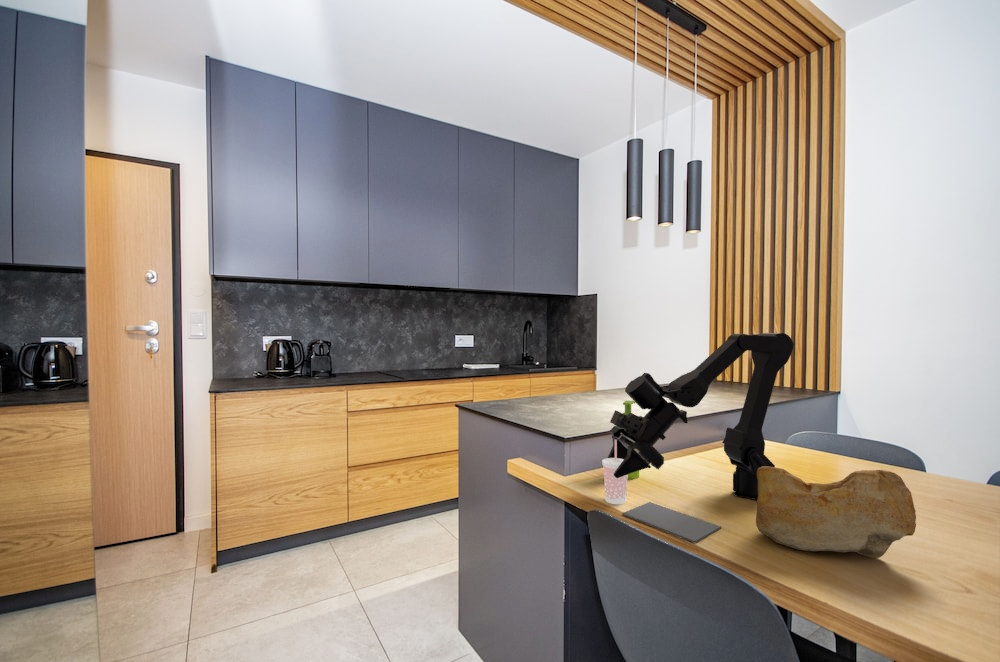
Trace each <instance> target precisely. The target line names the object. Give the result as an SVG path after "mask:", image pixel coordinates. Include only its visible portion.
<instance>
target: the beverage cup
mask: <svg viewBox="0 0 1000 662" xmlns="http://www.w3.org/2000/svg"><path fill="white" fill-rule="evenodd" d="M623 460H624V459H620V458H617V440H615V458H608V457H605V458H603V459H602V460H601V465H602V466H603V480H604V495H605V496H604V498H605V502H607V503H609V504H612V505H624V504H626V503H627V492H628V480H629V479H628V474H627V475H625V476H622V477H619V478H616V477H615V476H614V473H615V471H616V470H617V468H618V467H619V466H620V464H621V463H622V462H623Z"/></svg>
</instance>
